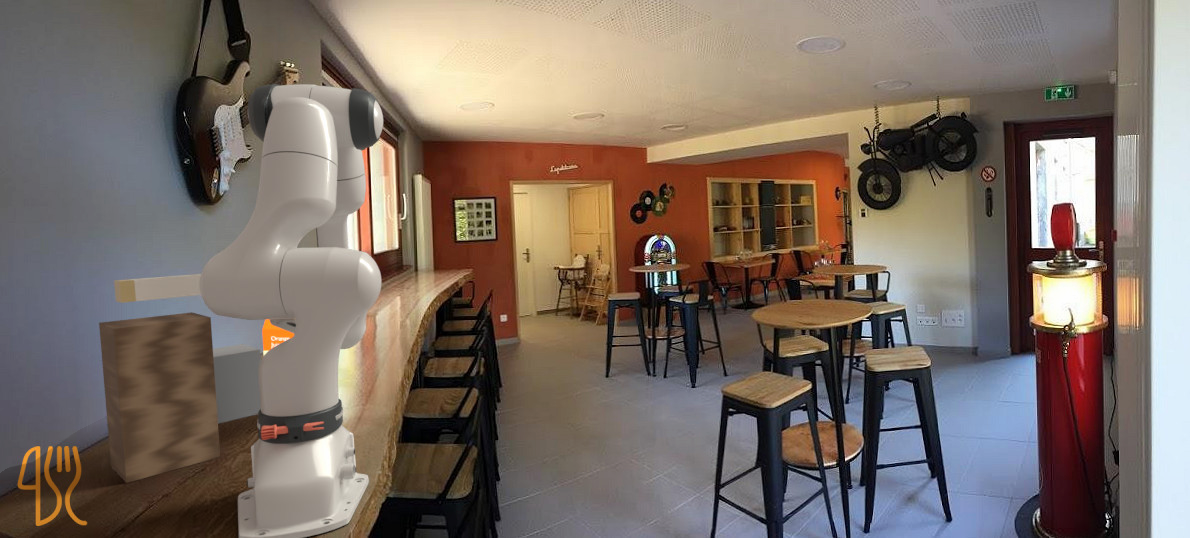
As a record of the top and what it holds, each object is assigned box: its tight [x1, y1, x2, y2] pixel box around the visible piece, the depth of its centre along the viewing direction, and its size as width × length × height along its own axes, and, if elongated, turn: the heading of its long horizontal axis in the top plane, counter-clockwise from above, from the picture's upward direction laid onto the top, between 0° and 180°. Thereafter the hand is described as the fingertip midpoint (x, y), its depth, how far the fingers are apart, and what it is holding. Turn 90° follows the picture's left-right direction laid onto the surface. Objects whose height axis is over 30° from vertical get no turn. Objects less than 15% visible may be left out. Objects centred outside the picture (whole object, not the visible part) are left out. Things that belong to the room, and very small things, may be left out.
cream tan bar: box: [113, 273, 201, 304], centre depth 110 cm, size 20×4×4 cm, turn 140°
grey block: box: [213, 343, 262, 425], centre depth 135 cm, size 10×10×14 cm
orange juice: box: [261, 319, 294, 356], centre depth 166 cm, size 8×9×20 cm
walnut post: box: [98, 312, 221, 484], centre depth 108 cm, size 14×10×26 cm
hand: (223, 279), depth 115 cm, fingers closed on cream tan bar, 4 cm apart
